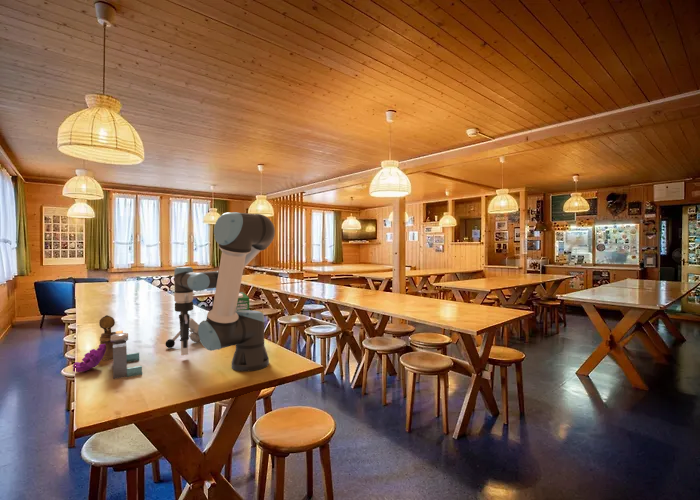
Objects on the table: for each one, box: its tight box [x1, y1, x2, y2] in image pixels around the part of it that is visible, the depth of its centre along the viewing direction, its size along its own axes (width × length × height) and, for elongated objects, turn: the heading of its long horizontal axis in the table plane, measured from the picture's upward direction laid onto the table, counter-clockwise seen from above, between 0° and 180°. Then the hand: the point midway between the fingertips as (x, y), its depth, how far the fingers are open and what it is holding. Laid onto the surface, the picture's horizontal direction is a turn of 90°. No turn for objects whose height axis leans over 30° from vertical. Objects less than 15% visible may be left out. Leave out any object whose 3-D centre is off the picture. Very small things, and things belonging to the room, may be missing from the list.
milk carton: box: [236, 291, 250, 311], centre depth 192 cm, size 9×9×25 cm
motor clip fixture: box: [111, 330, 143, 380], centre depth 148 cm, size 22×10×14 cm, turn 33°
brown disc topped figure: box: [99, 315, 116, 361], centre depth 165 cm, size 9×14×18 cm, turn 40°
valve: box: [165, 317, 201, 349], centre depth 183 cm, size 10×18×15 cm
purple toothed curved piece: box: [72, 344, 106, 373], centre depth 147 cm, size 11×15×10 cm
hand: (184, 354), depth 160 cm, fingers closed
